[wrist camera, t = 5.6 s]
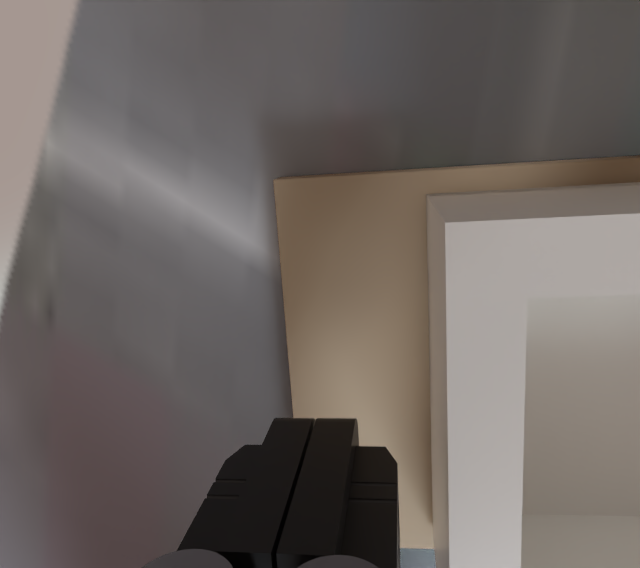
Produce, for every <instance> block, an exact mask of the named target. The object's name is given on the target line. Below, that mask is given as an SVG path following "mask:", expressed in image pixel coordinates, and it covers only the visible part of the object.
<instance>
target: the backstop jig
mask: <svg viewBox="0 0 640 568" xmlns="http://www.w3.org/2000/svg"><path fill="white" fill-rule="evenodd" d="M633 182H640V155H637V156H620V157H604V158H587V159H571V160H554V161H538V162H521V163H505V164H488V165H472V166H455V167H439V168H422V169H406V170H390V171H373V172H357V173H340V174H324V175H307V176H291V177H280V178H277V179H274V180H273V183H274V195H275V206H276V218H277V230H278V242H279V253H280V265H281V277H282V289H283V301H284V312H285V324H286V336H287V348H288V360H289V371H290V383H291V395H292V407H293V418H314V419H315V420H316V419H317V418H356V419H357V422H358V434H359V446H381V447H386V448H387V449H388V451H389V452H390V453H391V455H392V456H393V458H394V459H395V460H396V462H397V464H398V494H399V525H400V548H420V549H434V542H433V512H432V463H431V414H430V366H429V317H428V268H427V219H426V194H433V193H451V192H470V191H488V190H506V189H524V188H542V187H561V186H579V185H597V184H615V183H633Z"/></svg>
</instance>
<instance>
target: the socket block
mask: <svg viewBox="0 0 640 568" xmlns="http://www.w3.org/2000/svg"><path fill="white" fill-rule="evenodd" d="M426 219H427V268H428V317H429V366H430V414H431V463H432V512H433V542H434V551H435V560H436V568H640V182H633V183H615V184H597V185H579V186H561V187H542V188H524V189H506V190H488V191H470V192H451V193H433V194H426Z"/></svg>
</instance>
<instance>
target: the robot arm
mask: <svg viewBox="0 0 640 568" xmlns="http://www.w3.org/2000/svg"><path fill="white" fill-rule="evenodd" d="M142 568H400V525H399V494H398V464H397V462H396V460H395V459H394V458H393V456H392V455H391V453H390V452H389V451H388V449H387V448H386V447H381V446H359V434H358V422H357V419H356V418H317V419H316V420H315V419H314V418H275V419H274V420H273V422H272V424H271V426H270V428H269V431H268V433H267V435H266V437H265V440H264V442H263V444H262V445H244V446H243V447H242V448H240V449H239V450H238V451H237V452H235V453H234V454H233V455H232V456H230V457H229V458H228V459H227V460H226V461H225V462H224V464H223V466H222V468H221V470H220V472H219V474H218V475H217V477H216V482H214V483H213V485H212V487H211V488H210V490H209V492H208V494H207V499H206V498H205V499H204V501H203V503H202V505H201V507H200V509H199V511H198V512H197V514H196V516H195V518H194V520H193V522H192V524H191V525H190V527H189V529H188V531H187V533H186V535H185V537H184V538H183V540H182V542H181V544H180V546H179V548H178V550H177V551H175V552H172V553H169V554H165V555H163V556H161V557H159V558H156V559H155V560H153V561H151V562H149V563H148V564H146V565H145V566H144V567H142Z"/></svg>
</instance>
